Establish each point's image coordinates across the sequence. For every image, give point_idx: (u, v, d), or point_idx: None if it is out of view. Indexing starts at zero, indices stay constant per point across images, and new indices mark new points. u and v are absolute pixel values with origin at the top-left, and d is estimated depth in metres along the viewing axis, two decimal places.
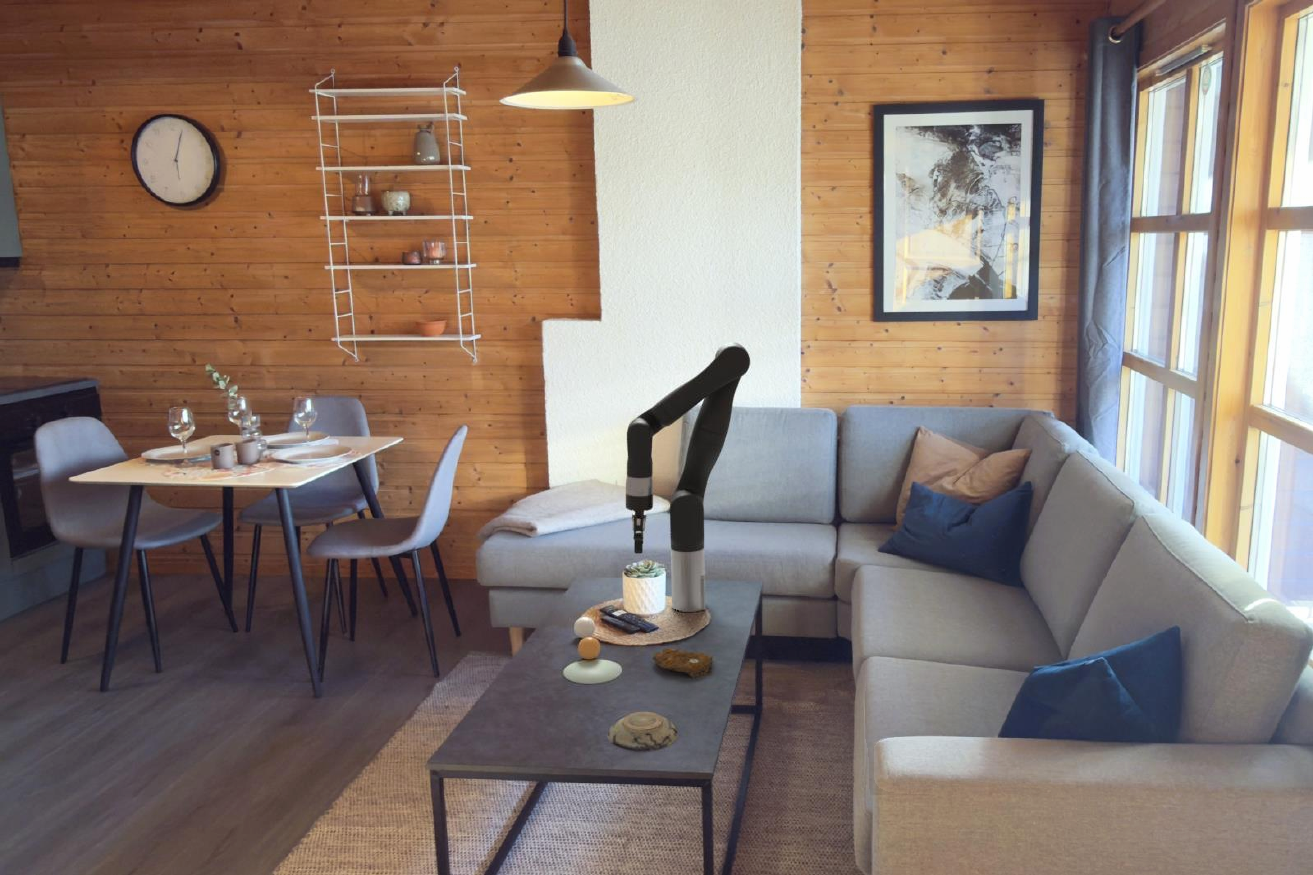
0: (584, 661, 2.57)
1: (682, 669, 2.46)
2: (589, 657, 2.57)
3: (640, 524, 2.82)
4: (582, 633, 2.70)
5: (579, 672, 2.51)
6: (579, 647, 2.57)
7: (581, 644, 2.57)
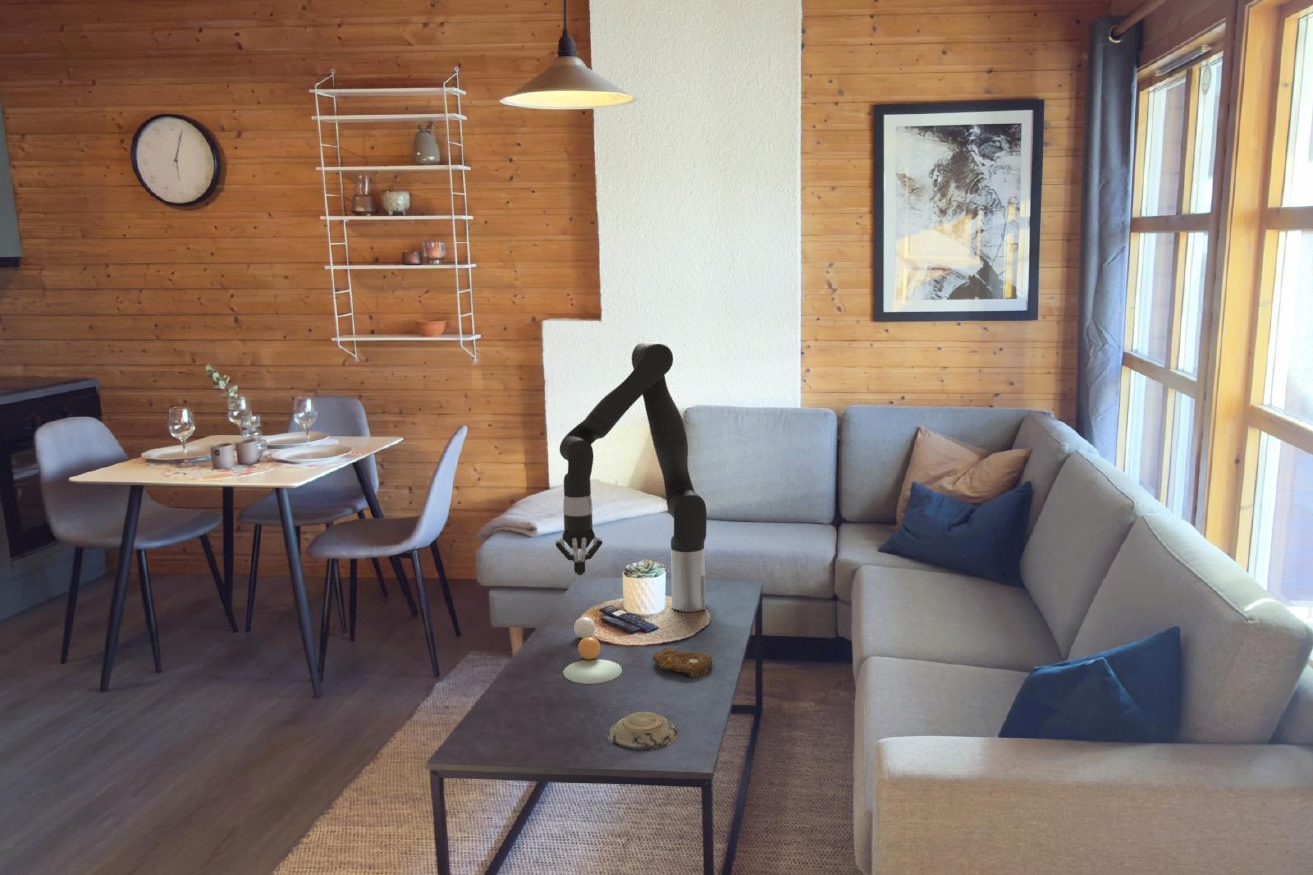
0: (584, 661, 2.57)
1: (682, 669, 2.46)
2: (589, 657, 2.57)
3: None
4: (582, 633, 2.70)
5: (579, 672, 2.51)
6: (579, 647, 2.57)
7: (581, 644, 2.57)
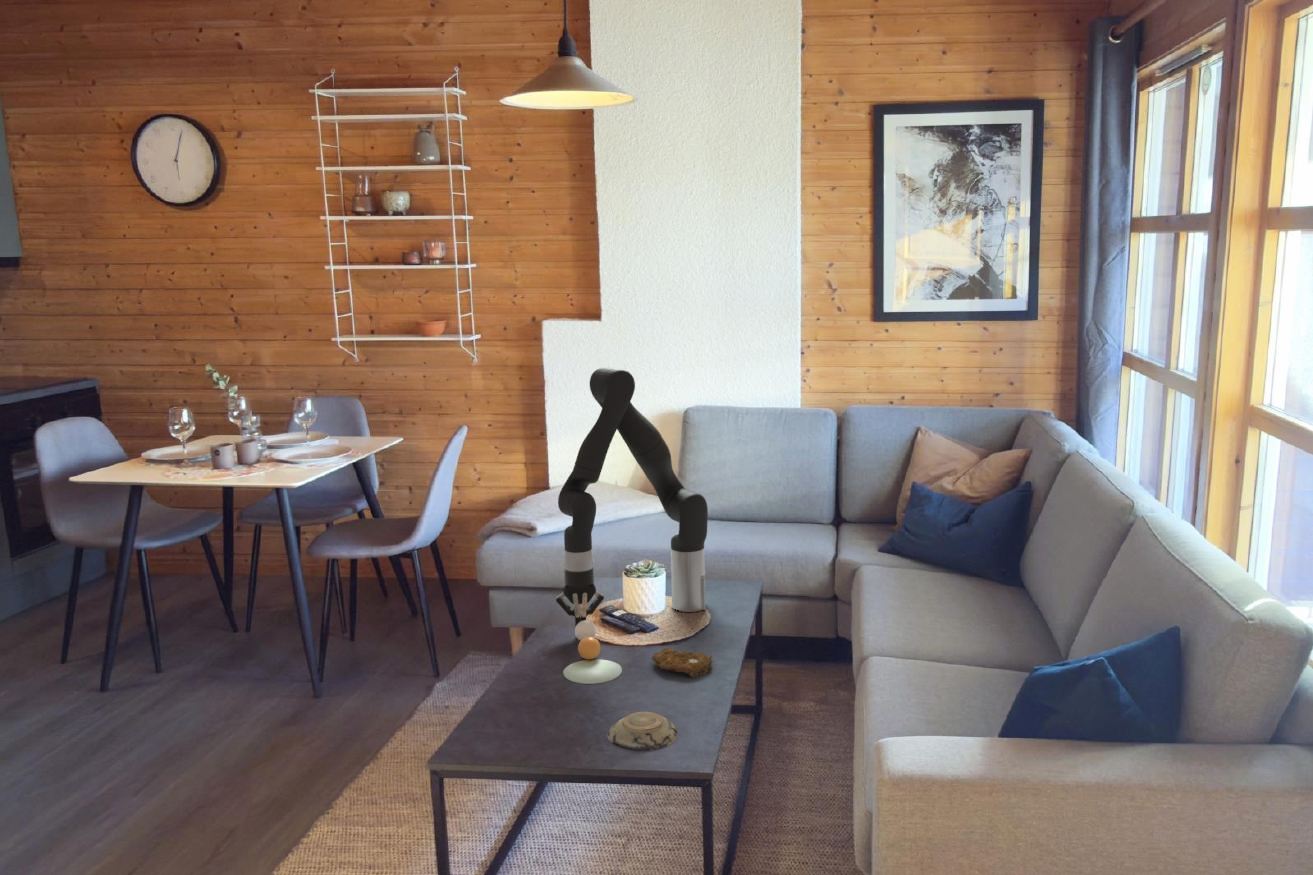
0: (584, 661, 2.57)
1: (682, 669, 2.46)
2: (589, 657, 2.57)
3: None
4: None
5: (579, 672, 2.51)
6: (579, 647, 2.57)
7: (581, 644, 2.57)
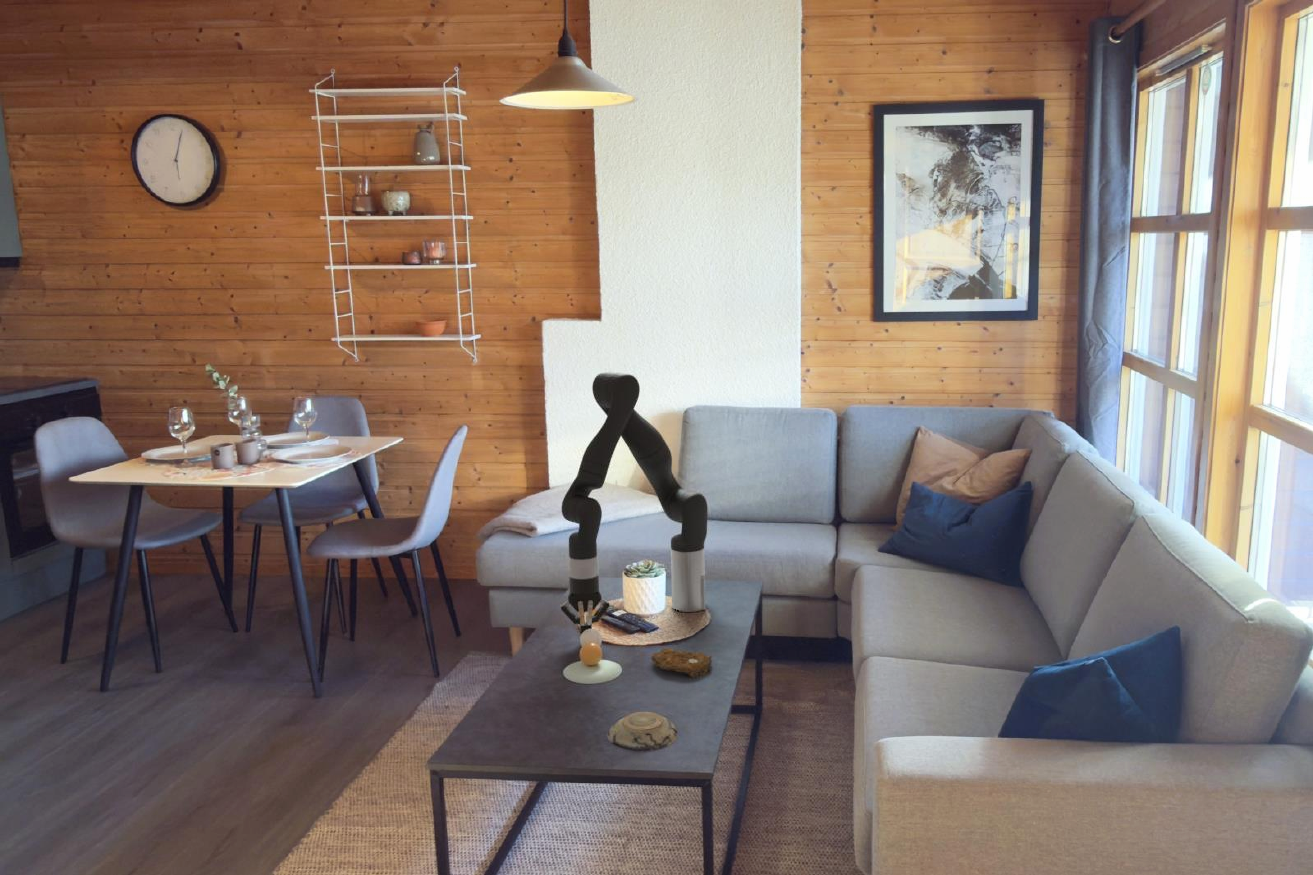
0: None
1: (682, 669, 2.46)
2: None
3: None
4: None
5: (579, 672, 2.51)
6: (581, 659, 2.54)
7: (583, 660, 2.53)
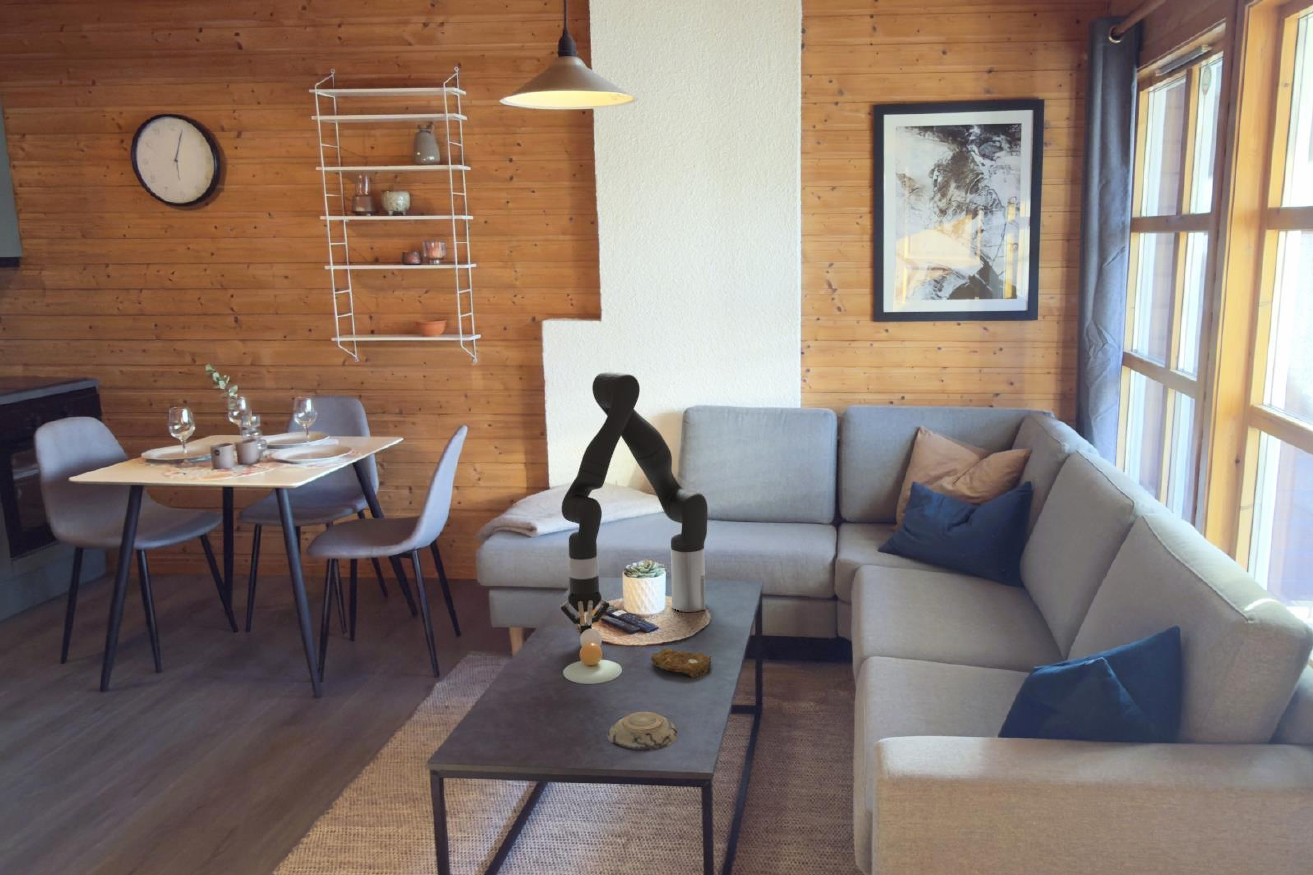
0: None
1: (682, 670, 2.46)
2: None
3: None
4: None
5: (579, 672, 2.51)
6: (581, 659, 2.54)
7: (583, 660, 2.53)
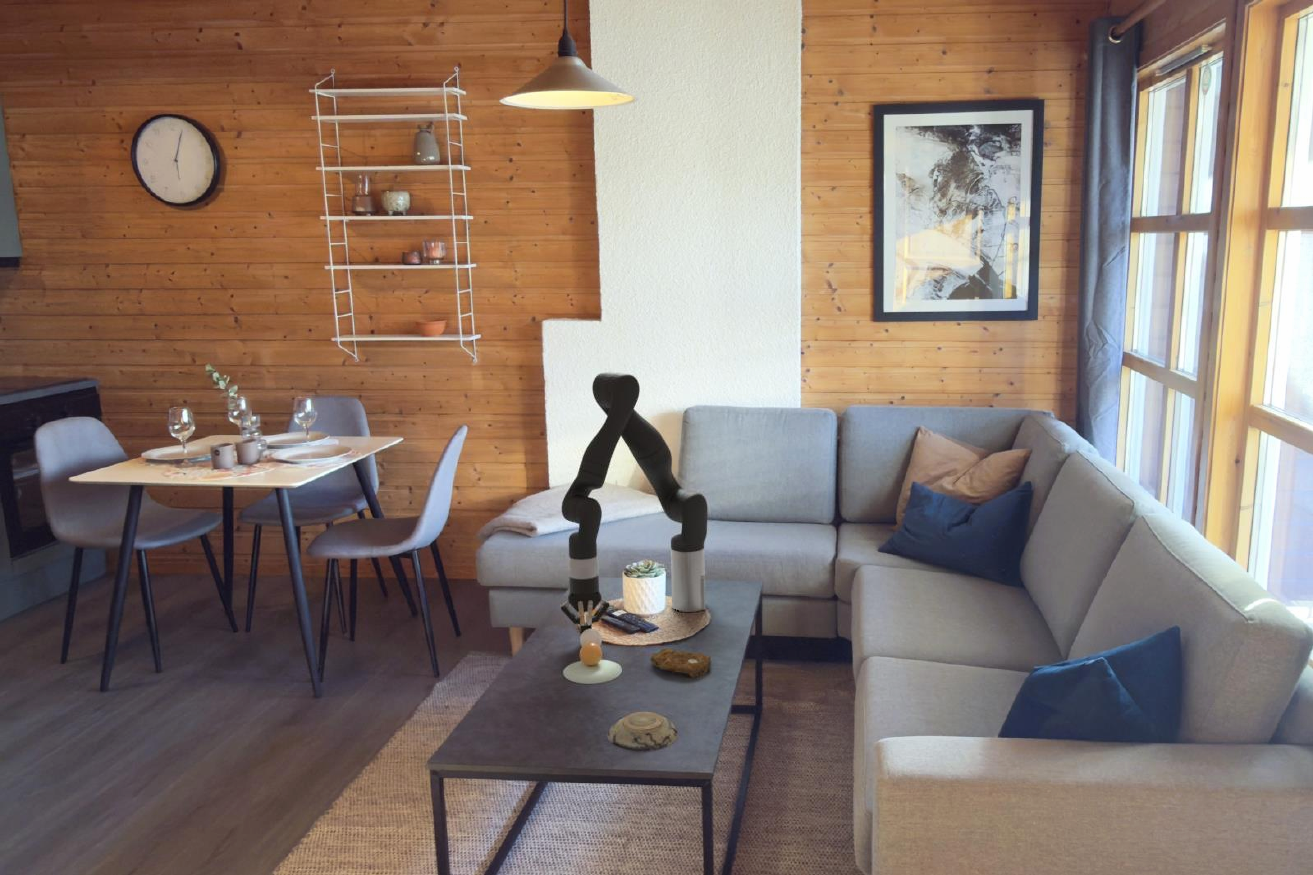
0: None
1: (682, 670, 2.46)
2: None
3: None
4: None
5: (579, 672, 2.51)
6: (581, 659, 2.54)
7: (583, 660, 2.53)
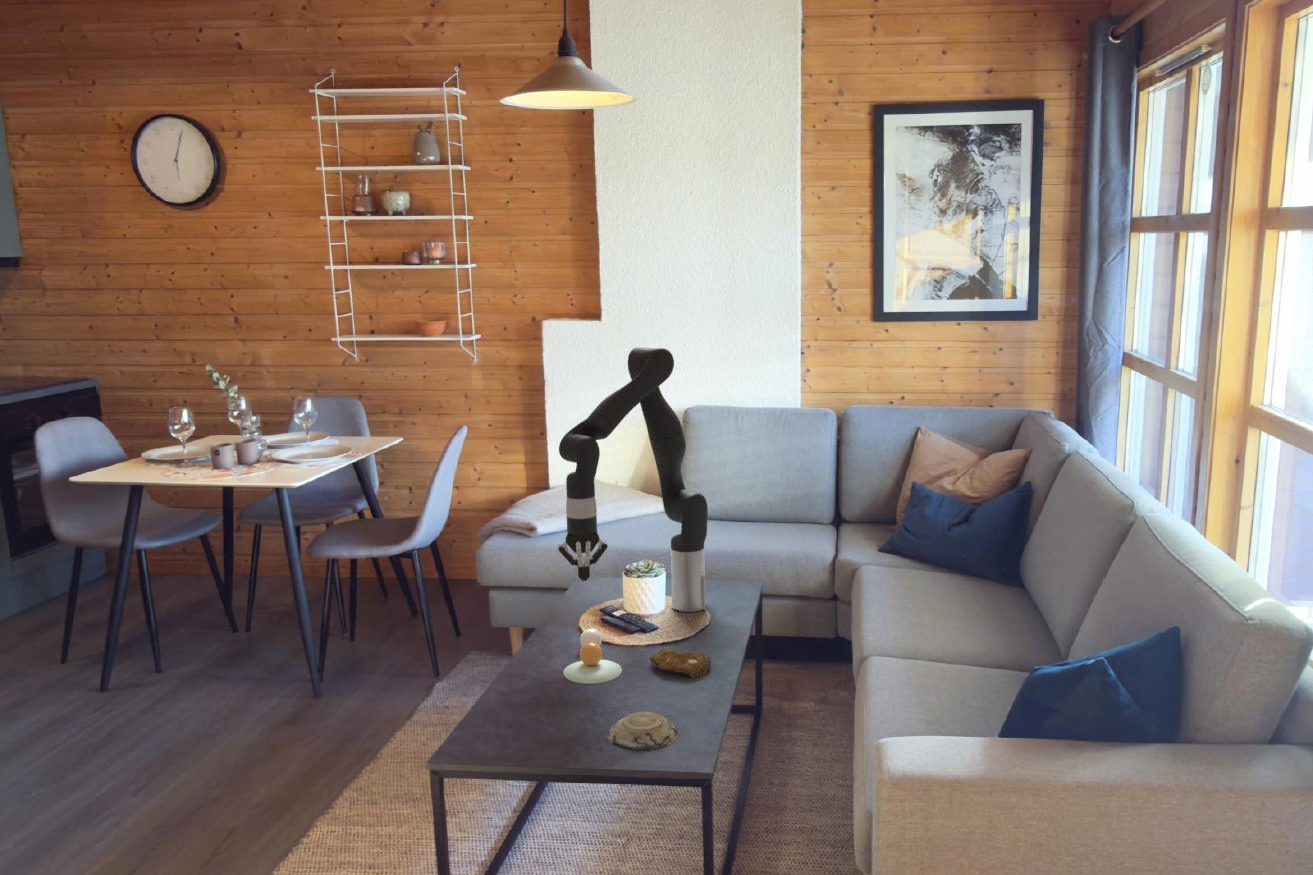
0: None
1: (682, 670, 2.46)
2: None
3: None
4: None
5: (579, 672, 2.51)
6: (581, 659, 2.54)
7: (583, 660, 2.53)
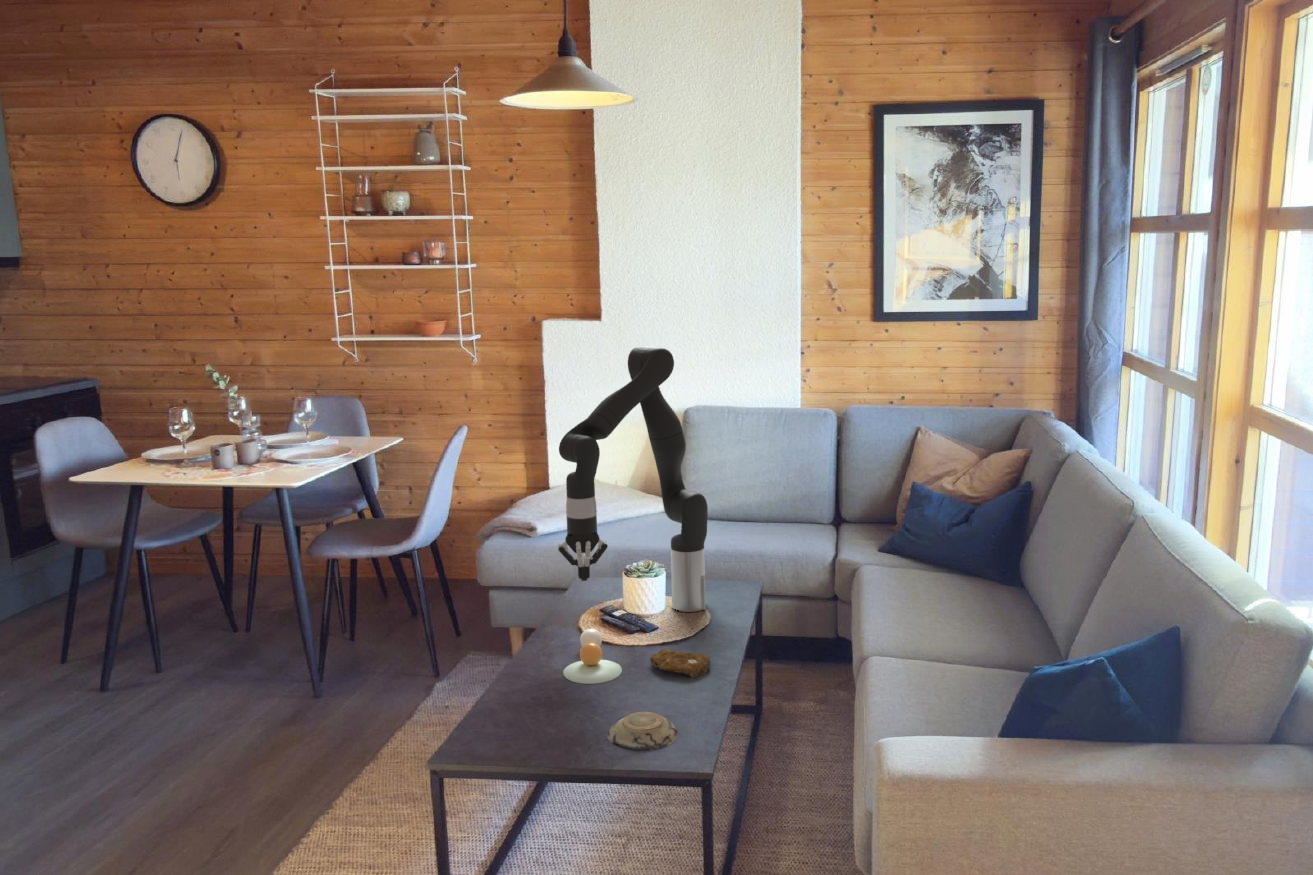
0: None
1: (682, 670, 2.46)
2: None
3: None
4: None
5: (579, 672, 2.51)
6: (581, 659, 2.54)
7: (583, 660, 2.53)
